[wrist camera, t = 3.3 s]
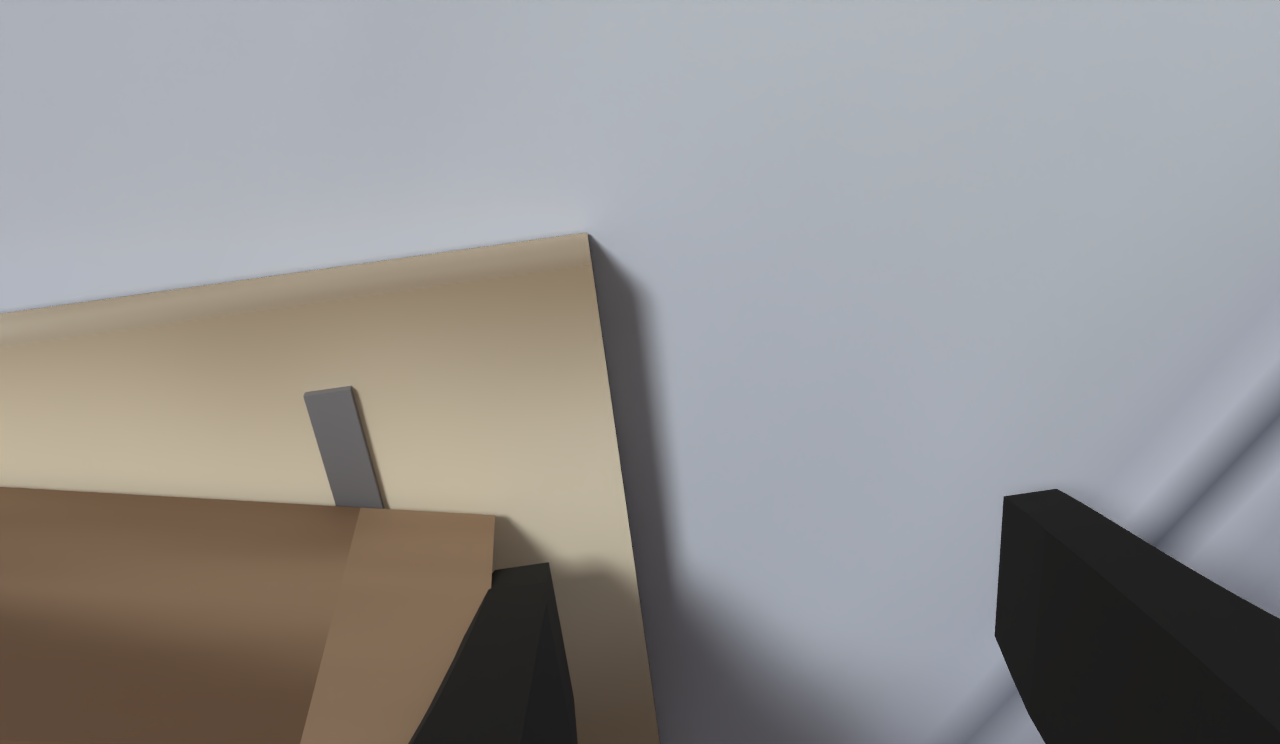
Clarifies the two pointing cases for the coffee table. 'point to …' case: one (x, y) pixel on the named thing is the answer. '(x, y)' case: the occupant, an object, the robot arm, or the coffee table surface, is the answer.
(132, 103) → the coffee table surface
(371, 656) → the tan cardboard box
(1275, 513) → the coffee table surface
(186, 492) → the birch board
